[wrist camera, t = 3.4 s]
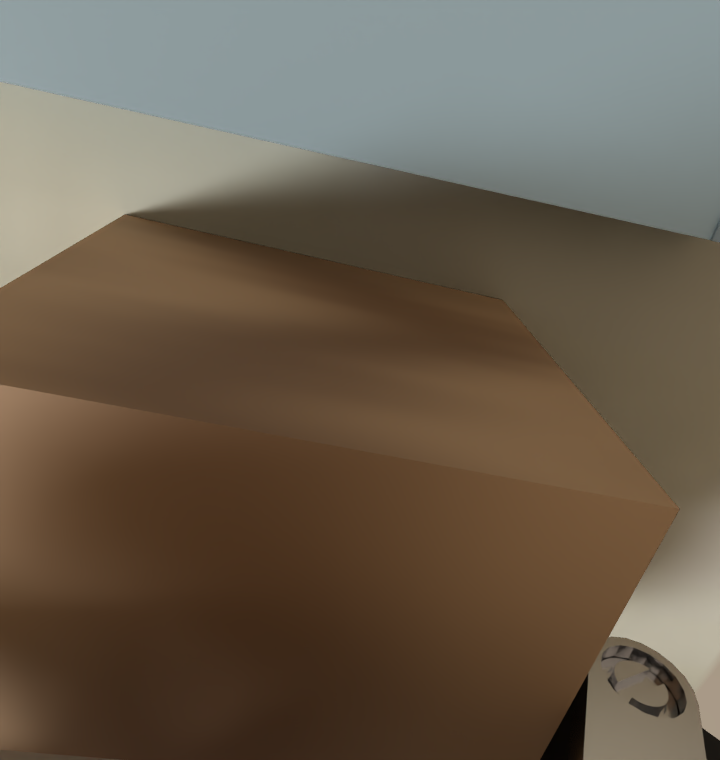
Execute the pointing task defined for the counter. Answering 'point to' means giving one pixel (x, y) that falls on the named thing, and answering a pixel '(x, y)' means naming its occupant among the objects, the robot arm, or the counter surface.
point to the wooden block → (295, 511)
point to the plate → (419, 87)
